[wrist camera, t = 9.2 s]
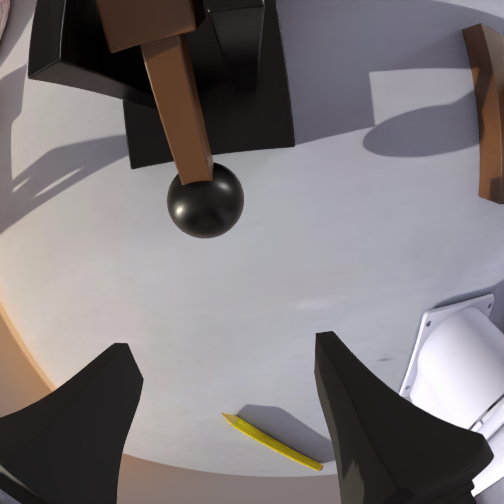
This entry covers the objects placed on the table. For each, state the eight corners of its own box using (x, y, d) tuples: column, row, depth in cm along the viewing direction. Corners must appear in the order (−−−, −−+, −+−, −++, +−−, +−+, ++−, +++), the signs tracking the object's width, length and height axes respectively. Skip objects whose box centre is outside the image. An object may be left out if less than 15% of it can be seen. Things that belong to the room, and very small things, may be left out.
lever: (245, 196, 13) (249, 249, 11) (182, 204, 13) (175, 256, 11) (209, -56, 4) (198, -75, 2) (112, -30, 4) (64, -27, 2)
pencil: (324, 469, 24) (316, 472, 24) (322, 462, 25) (315, 466, 25) (225, 414, 19) (216, 419, 20) (225, 405, 20) (216, 410, 21)
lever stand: (292, 146, 13) (370, 153, 4) (139, 167, 14) (1, 214, 5) (269, -17, 10) (286, -139, 1) (128, 9, 10) (31, -68, 1)
